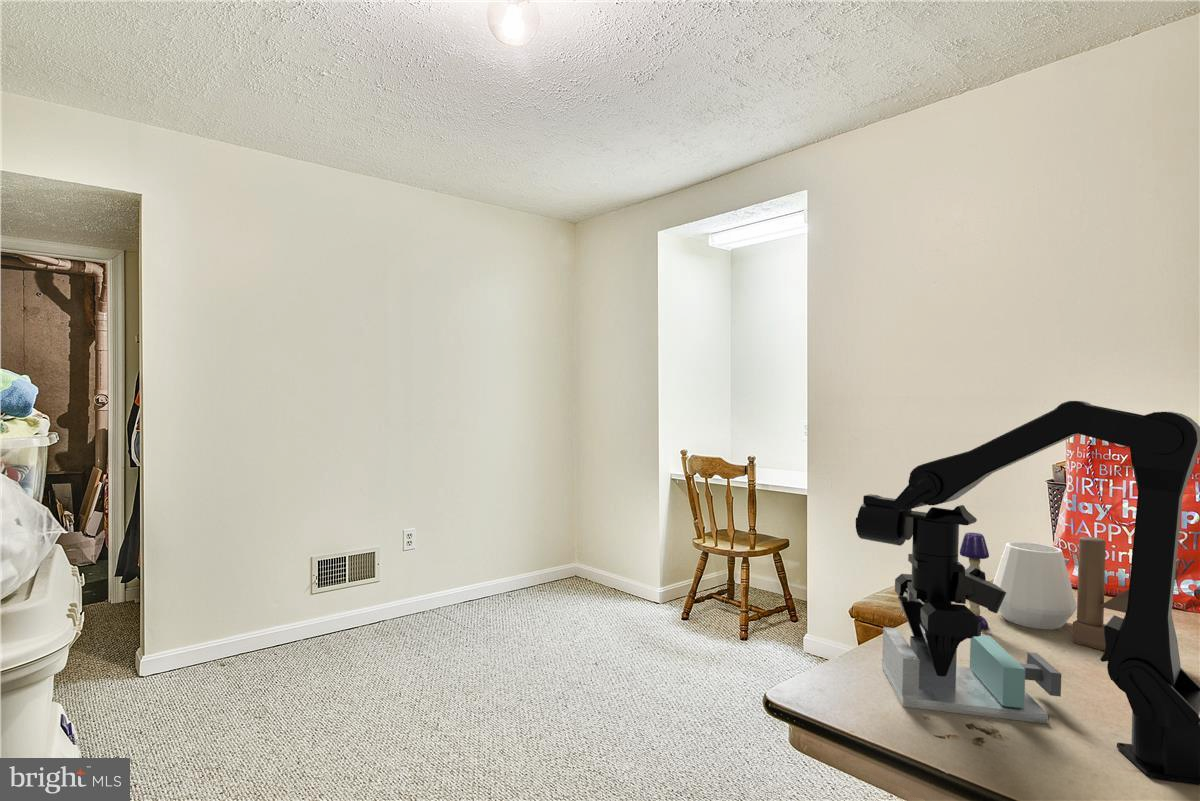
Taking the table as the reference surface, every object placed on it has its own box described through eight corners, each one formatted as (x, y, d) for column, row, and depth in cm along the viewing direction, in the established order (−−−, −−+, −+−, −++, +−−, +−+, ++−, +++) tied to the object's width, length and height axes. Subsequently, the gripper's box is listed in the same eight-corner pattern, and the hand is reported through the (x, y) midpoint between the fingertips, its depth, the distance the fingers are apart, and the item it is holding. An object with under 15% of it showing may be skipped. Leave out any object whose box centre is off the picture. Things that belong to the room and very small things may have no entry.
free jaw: (1070, 713, 81) (1071, 673, 81) (1002, 705, 83) (1003, 667, 83) (1028, 673, 93) (1029, 639, 93) (969, 667, 94) (970, 633, 94)
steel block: (955, 689, 88) (956, 648, 88) (916, 684, 89) (917, 645, 89) (947, 678, 91) (948, 639, 91) (909, 674, 92) (910, 635, 92)
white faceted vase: (982, 620, 120) (984, 545, 120) (997, 604, 130) (999, 535, 130) (1071, 639, 111) (1073, 559, 111) (1080, 621, 121) (1082, 547, 121)
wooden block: (1152, 665, 101) (1155, 550, 101) (1071, 642, 109) (1074, 537, 109) (1159, 660, 103) (1162, 547, 103) (1079, 638, 112) (1082, 535, 111)
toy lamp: (978, 631, 114) (981, 537, 114) (952, 623, 118) (954, 532, 118) (992, 626, 116) (995, 535, 116) (966, 619, 120) (969, 530, 120)
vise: (1047, 723, 81) (1049, 674, 81) (902, 706, 85) (904, 659, 85) (1005, 679, 94) (1007, 637, 94) (881, 666, 97) (882, 625, 97)
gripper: (1028, 574, 79) (1025, 700, 79) (974, 541, 97) (971, 644, 97) (930, 567, 81) (927, 690, 81) (895, 536, 100) (892, 637, 100)
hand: (931, 663), depth 90 cm, fingers open, 8 cm apart
